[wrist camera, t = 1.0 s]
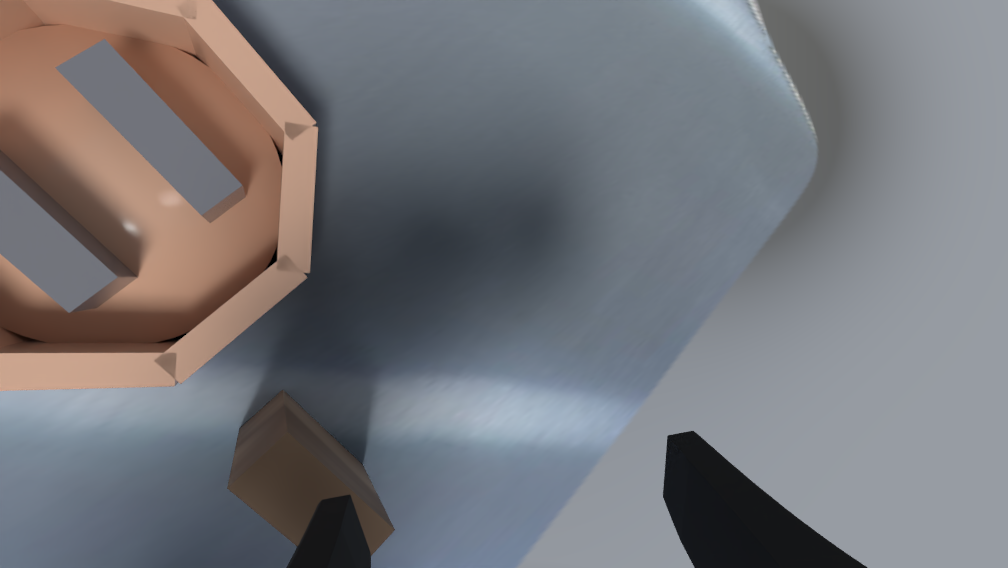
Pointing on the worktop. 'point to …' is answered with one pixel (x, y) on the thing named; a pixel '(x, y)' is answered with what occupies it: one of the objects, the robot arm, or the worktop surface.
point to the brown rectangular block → (300, 472)
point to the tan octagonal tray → (141, 191)
